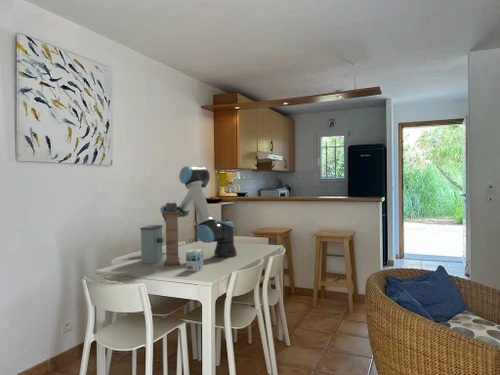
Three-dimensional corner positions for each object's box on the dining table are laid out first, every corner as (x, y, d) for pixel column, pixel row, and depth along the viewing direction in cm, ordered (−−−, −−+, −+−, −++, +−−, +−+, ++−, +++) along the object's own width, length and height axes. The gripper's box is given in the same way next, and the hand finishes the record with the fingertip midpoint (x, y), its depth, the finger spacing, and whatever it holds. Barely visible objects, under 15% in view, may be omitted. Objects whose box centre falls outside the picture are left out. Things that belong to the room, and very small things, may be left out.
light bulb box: (197, 272, 204) (197, 252, 204) (185, 271, 206) (185, 252, 206) (203, 267, 215) (203, 249, 215) (192, 267, 216) (192, 248, 216)
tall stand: (180, 265, 223) (179, 211, 223) (164, 266, 221) (163, 212, 221) (179, 260, 238) (178, 210, 238) (165, 261, 236) (164, 210, 236)
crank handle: (176, 211, 224) (176, 203, 224) (166, 211, 222) (166, 203, 222) (176, 208, 251) (176, 201, 251) (167, 209, 250) (167, 201, 250)
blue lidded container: (167, 258, 244) (166, 225, 244) (158, 263, 230) (157, 227, 230) (150, 258, 246) (150, 225, 246) (140, 263, 231) (140, 227, 231)
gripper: (183, 223, 261) (184, 208, 241) (160, 224, 257) (158, 208, 238) (183, 213, 264) (184, 197, 244) (160, 214, 261) (158, 198, 241)
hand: (171, 203), depth 241 cm, fingers closed on crank handle, 3 cm apart
